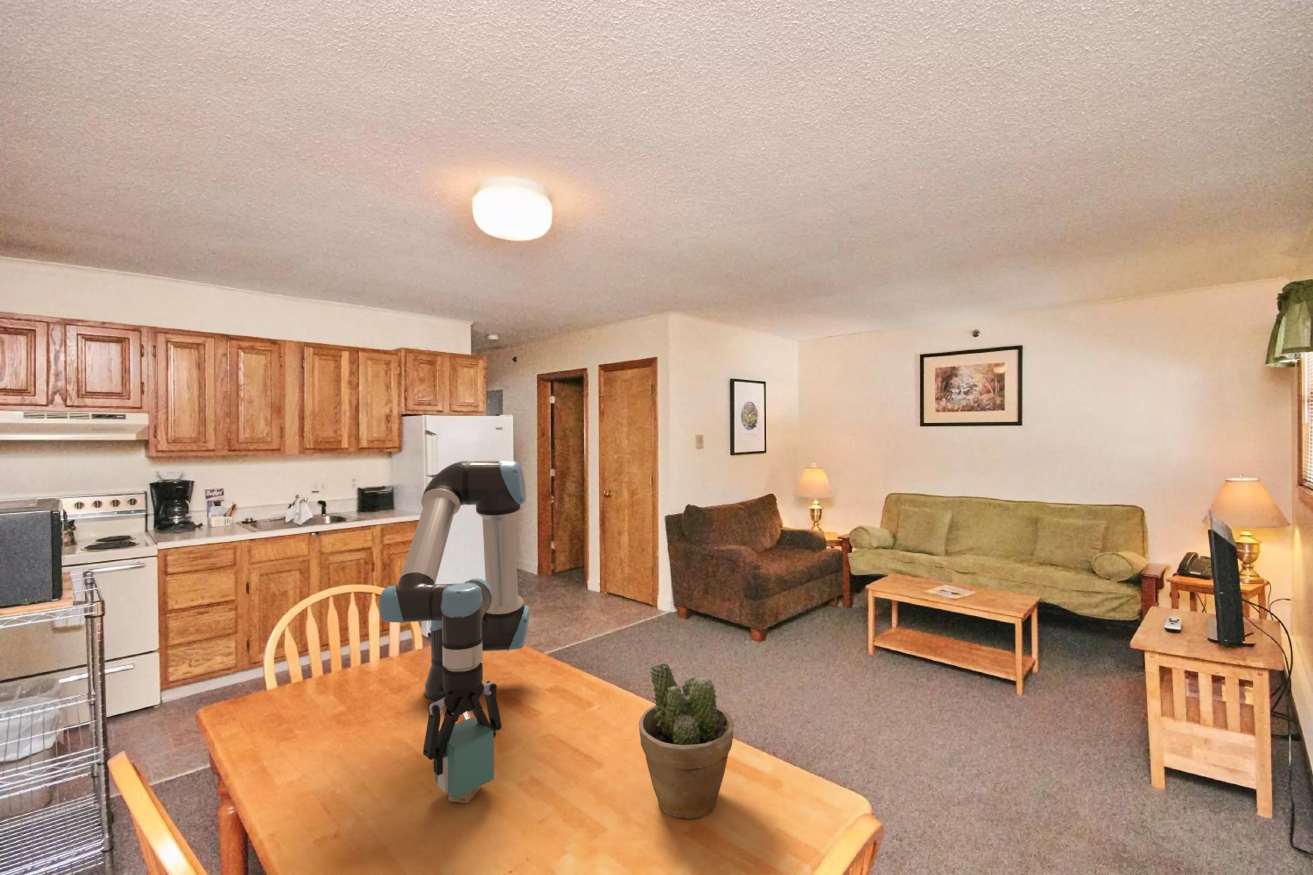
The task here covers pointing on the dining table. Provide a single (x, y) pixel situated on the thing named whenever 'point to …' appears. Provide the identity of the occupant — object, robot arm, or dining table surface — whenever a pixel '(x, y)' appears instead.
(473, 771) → the teal block
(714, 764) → the potted plant
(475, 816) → the dining table surface
